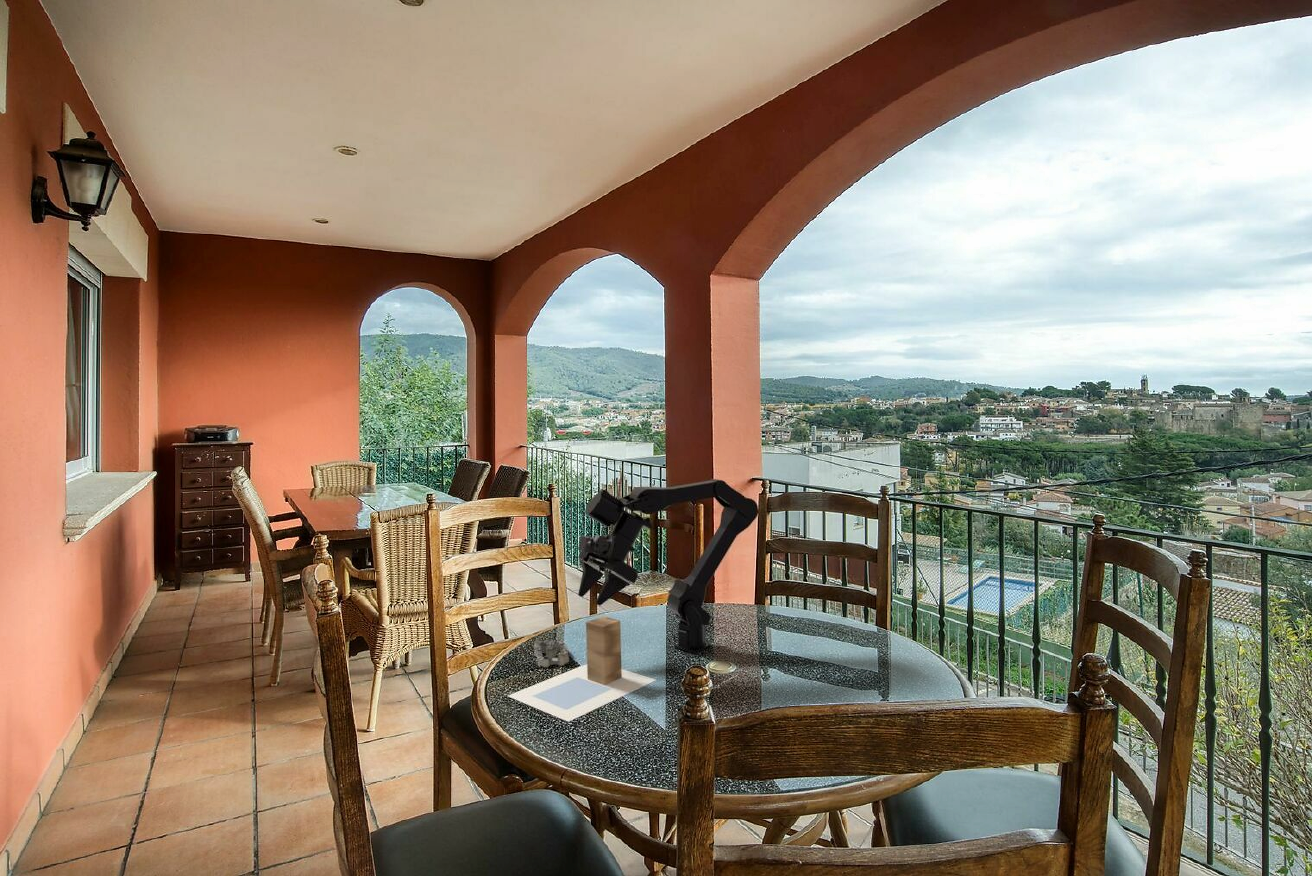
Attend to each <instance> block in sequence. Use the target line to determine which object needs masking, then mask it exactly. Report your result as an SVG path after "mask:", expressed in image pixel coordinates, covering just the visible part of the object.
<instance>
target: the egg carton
mask: <svg viewBox="0 0 1312 876" xmlns="http://www.w3.org/2000/svg"><path fill="white" fill-rule="evenodd" d="M558 651H559V652H560V654H558V657H556V656H557V653H559V652H558ZM542 653H544V654H545V653H546V654H545V655H546V658H547V659H545V657H544V654H542ZM568 653H569V646H568V645H567V644H565V641H564V640H561V641H559V642H558V641H557V640H556V639H554V640H544V641H541V640H534V655H535V658H536V657H537V658H536V661H537V666H538V667H543V668H549V666H552V665H558V666H565V664H568V663H569V662H570V658H569V654H568Z"/></svg>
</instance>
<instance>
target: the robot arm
mask: <svg viewBox="0 0 1312 876" xmlns="http://www.w3.org/2000/svg"><path fill="white" fill-rule="evenodd" d="M710 498H711V499H712V498H714V499H715V500H716V502H717V503H718V504H719V505H720V506H721V507H722V508H723V509H722V511H721V514H720V521H719V523H720V524H719V526H718V528H717V529H716V531H715V532H714V534H713V536H712V537H711V538H710V541H709V542H708V544H707V546H706V547H705V549H704V550H703V552H702V554H701V555H700V558H699V559H698V561H697V562H696V563H695V565H694V567H693V569H692V570H691V572H690V573H689V575H688V576H687V577H685V578H684V579H680V578H679V577H678V578H676V579H675V580H674V583H673V586H672V587H671V588H670V589H669V590H668V591H667V593H668V594H669V595H668V596H667V606H668V608H669V610H671V611H672V613H674V616H675V618H677V619H679V622H678V630H677V640H678V641H677V643H675V644H674V645H673V648H674V649H679V650H683V651H686V652H690V653H694V654H696V653H698V652H701V651H702V650H705V649H707V648H710V647H711V646H712V643H710V642H707V640H706V639H707V638H706V637H707V635H706V633H707V632H706V626H707V625H708V626H709V623H710V620H711V614H709V613H708V612H707V611H706V610H705V609H703V604H704V601H705V600H706V599H705V597H706V592H707V591H706V589H707V586H708V585H709V583H710V581H711V580H712V578H713V576H714V575H715V573H716V572H717V570H718V568H719V566H720V565H721V563H722V561H723V560H724V558H725V557H726V555H727V553H728V552H729V550H730V548H731V546H732V545H733V543H734V542H735V540H736V539H737V537H738V536H739V535H740V534H741V533H742V532H744V531H745V530H746V529H748V528H749V527H751V525H752V523H753V522H754V521H755V520H756V519H757V517H758V515H759V511H760V510H759V507H758V506H759V505H758V504H757V502H756V501H755V500H754V499H752V498H749V497H746V496H745V495H743V494H742V493H740V492H739V491H738V490H736V489H734V488H733V487H732V486H730V485H729V484H728V483H727V482H726V481H725V480H722V479H718V478H711V479H710V480H704V481H699V482H693V483H687V484H680V485H674V486H668V487H663V486H662V487H661V486H637V487H635V488H633V489H632V491H631V492H630V493H629V494H627V495H625V496H623V497H620V498H617V497H615V496H614V495H612V494H611V493H610V492H609V491H607V490H606V489H604V488H600V490H599V492H598V493H596V494H595V495H594V496H593V497H592V498H591V499H590V500H589V501H588V503H587V505H586V507H585V510H584V514H585V515H586V516H588V517H589V518H591V519H593V520H594V521H596V522H598V523H599V524H600V525H601V526H604V527H605V528H608V527H610V526H613V528H612V530H611V532H610V533H606V534H604V535H599V534H596V535H595V536H594V537H593V536H588V535H587V536H586V535H580V538H579V543H578V548H577V550H578V551H581V552H580V553H579V555H578V557H577V558H578V559H579V564H580V566H581V568H582V574H581V580H580V584H579V589H578V593H577V596H579V597H581V598H583V597H584V596H585V595H586V594H587V593H588V592H589V591H590V590H591V589H593V587H594V585H596V584H597V582H598V581H599V580H601V578H602V577H603V576H604V582H603V583H602V585H601V588H600V591H599V592H598V593H599V594H598V596H597V599H596V601H595V605H596V606H599V607H600V606H602V605H603V604H604V603H606V602H607V601H608V600H609V599H611V598H612V597H613V596H615V595H616V594H618V593H619V592H620V591H622V590H623V589H625V588H626V587H630V585H631V584H635V583H636V581H637V579H638V578H639V573H638V570H637V569H636V568H634V567H632V566H631V565H630V564H628V563H626V562H625V561H626V559H627V557H628V556H629V554H630V553H632V554H633V553H634V552H635V550H636V548H635V547H633V546H634V544H635V542H636V541H637V539H638V537H639V535H640V533H641V531H642V529H646V530H653V528H654V526H653V525H652V522H651V517H650V516H649V517H648V516H644V517H643V516H641V515H640V514H638V513H637V512H639V513H642V514H645V515H653V514H655V513H658V512H660V511H663V510H666V509H667V508H668V507H671V506H673V505H676V504H678V505H679V504H683V503H687V502H695V501H699V500H700V501H701V500H706V499H710ZM625 509H626V510H628V511H631V513H630V512H628V511H626V510H625Z"/></svg>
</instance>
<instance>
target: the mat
mask: <svg viewBox="0 0 1312 876" xmlns="http://www.w3.org/2000/svg"><path fill="white" fill-rule="evenodd" d="M656 681H657V679H654V678H651V677H648V676H645V675H642V674H640V673H637V672H636V673H635V672H633V671H629V670H626V669H623V668H622V678H620V679H618V680H615V681H613V682H611V683H609V684H606V685H602V684H600V683H597V682H594V681H591V680H588V675H587V663H586V664H583V665H581V666H579V667H576V668H573V669H571V670H568V671H566V672H562V673H561V674H558V675H555V676H554V677H551V678H548V679H546V680H544V681H540V682H538V683H536V684H533V685H531V686H529V687H526V688H523V689H521V690H518V691H516V692H513V693H510V694H507V697H508V698H511V699H513V700H516V701H518V702H520V703H523V704H525V705H527V706H530V707H532V708H534V709H537V710H540V711H541V712H544V713H546V714H549V715H552V716H553V717H556V718H559V719H561V720H563V721H566V722H568V723H569V722H571V721H573V720H575V719H578V718H579V717H581V716H584V715H586V714H589V713H590V712H592V711H595V710H596V709H599V708H600V707H603V706H605V705H607V704H609V703H611V702H614V701H616V700H617V699H619V698H622V697H625V696H627V695H628V694H630V693H632V692H634V691H637V690H639V689H641V688H643V687H646V686H647V685H649V684H651V683H654V682H656Z"/></svg>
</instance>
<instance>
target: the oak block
mask: <svg viewBox="0 0 1312 876" xmlns="http://www.w3.org/2000/svg"><path fill="white" fill-rule="evenodd" d="M585 630H586V631H585V633H586V664H587V675H588V680H591V681H594V682H597V683H600V684H602V685H606V684H609V683H611V682H613V681H615V680H618V679H620V678H622V669H623V668H622V639H621V638H622V637H621V636H622V634H621V633H622V632H621V620H619V619H616V618H611V617H607V616H604V615H603V616H601V617H597V618H595V619H592V620H589V621H586V622H585Z"/></svg>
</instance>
